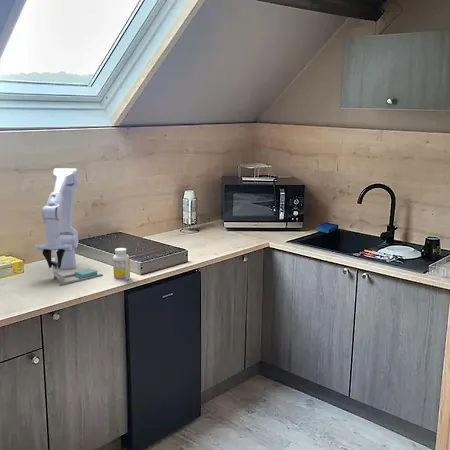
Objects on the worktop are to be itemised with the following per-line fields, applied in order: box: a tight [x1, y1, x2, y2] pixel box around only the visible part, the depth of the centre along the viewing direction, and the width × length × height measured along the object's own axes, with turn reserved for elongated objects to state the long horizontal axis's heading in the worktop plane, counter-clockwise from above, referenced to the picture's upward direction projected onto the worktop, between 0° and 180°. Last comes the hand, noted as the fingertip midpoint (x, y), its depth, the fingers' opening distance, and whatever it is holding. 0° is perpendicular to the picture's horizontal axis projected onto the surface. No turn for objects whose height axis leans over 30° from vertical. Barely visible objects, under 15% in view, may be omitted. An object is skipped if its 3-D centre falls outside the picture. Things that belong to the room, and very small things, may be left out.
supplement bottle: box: [112, 247, 131, 281], centre depth 236 cm, size 7×7×13 cm
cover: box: [74, 267, 98, 279], centre depth 239 cm, size 6×7×3 cm
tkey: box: [52, 260, 65, 281], centre depth 233 cm, size 10×1×7 cm, turn 40°
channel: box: [59, 272, 103, 287], centre depth 236 cm, size 9×19×2 cm, turn 134°
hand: (54, 267), depth 235 cm, fingers closed on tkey, 3 cm apart
